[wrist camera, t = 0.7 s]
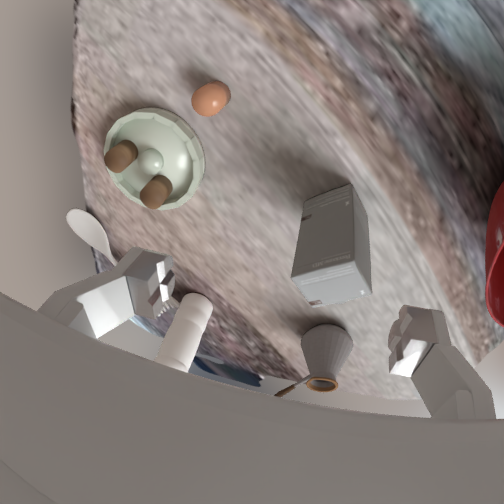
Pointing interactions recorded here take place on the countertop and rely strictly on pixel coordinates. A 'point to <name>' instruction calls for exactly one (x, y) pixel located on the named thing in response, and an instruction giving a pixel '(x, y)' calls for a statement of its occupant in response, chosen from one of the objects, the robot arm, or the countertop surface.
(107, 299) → the robot arm
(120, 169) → the seated bead
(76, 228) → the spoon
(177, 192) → the groove tray
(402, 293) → the countertop surface
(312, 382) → the coffee pot
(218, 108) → the loose bead
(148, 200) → the seated bead
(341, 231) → the skincare box
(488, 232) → the mixing bowl
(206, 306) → the milk bottle
